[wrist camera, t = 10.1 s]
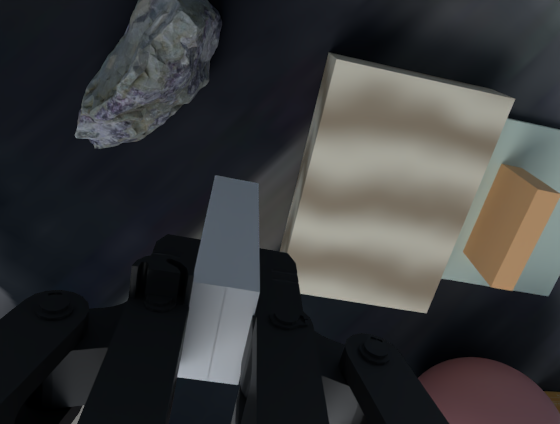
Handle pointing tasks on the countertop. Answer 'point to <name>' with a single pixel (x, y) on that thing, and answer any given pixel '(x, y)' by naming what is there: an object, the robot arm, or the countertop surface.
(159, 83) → the mineral rock
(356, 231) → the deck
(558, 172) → the mat
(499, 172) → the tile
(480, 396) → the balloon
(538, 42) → the countertop surface
